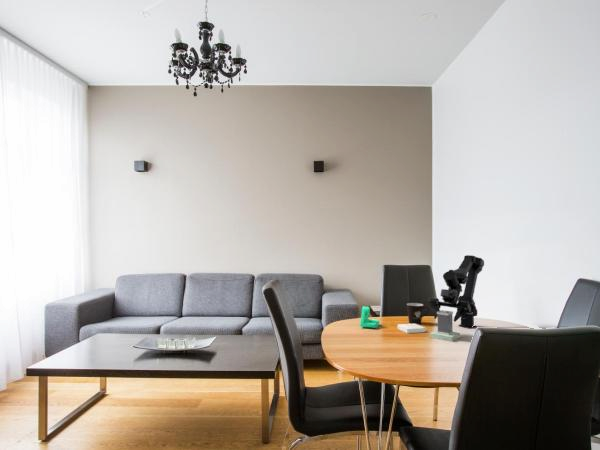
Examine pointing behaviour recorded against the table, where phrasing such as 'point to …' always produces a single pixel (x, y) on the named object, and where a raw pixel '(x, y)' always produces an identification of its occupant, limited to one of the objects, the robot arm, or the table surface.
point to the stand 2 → (445, 336)
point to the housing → (445, 322)
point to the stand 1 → (411, 328)
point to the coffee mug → (415, 312)
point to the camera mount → (365, 321)
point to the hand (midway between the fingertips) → (444, 319)
